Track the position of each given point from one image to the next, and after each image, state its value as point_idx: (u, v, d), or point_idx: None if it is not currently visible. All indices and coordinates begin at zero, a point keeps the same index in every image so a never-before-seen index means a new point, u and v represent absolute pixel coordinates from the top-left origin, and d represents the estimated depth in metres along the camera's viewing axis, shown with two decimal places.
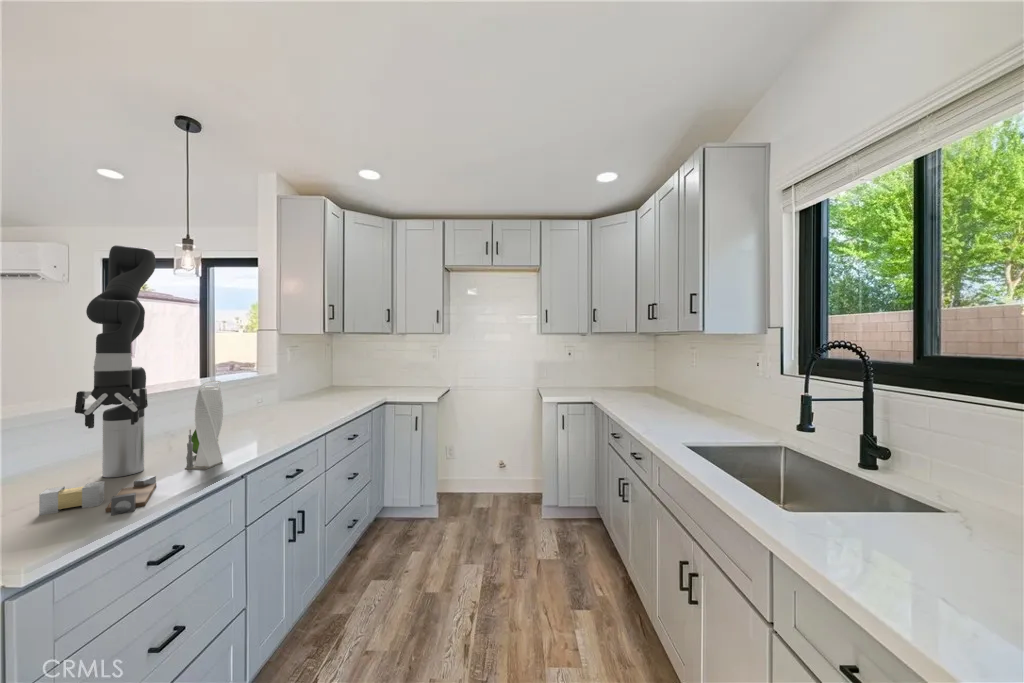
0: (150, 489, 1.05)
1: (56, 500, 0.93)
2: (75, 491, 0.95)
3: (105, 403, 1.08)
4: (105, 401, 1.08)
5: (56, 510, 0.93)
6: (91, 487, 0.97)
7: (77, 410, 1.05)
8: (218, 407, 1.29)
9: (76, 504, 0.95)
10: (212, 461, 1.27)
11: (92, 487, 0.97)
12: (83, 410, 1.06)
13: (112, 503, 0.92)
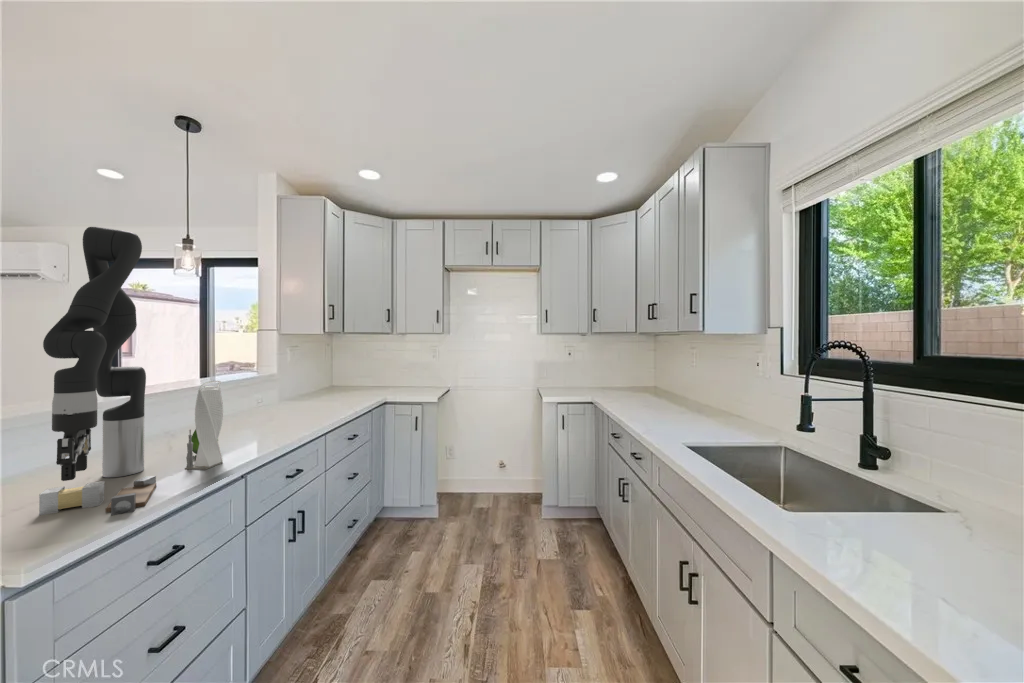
0: (150, 489, 1.05)
1: (56, 500, 0.93)
2: (75, 491, 0.95)
3: None
4: None
5: (56, 510, 0.93)
6: (91, 487, 0.97)
7: (73, 459, 0.91)
8: (218, 407, 1.29)
9: (76, 504, 0.95)
10: (212, 461, 1.27)
11: (92, 487, 0.97)
12: None
13: (112, 503, 0.92)
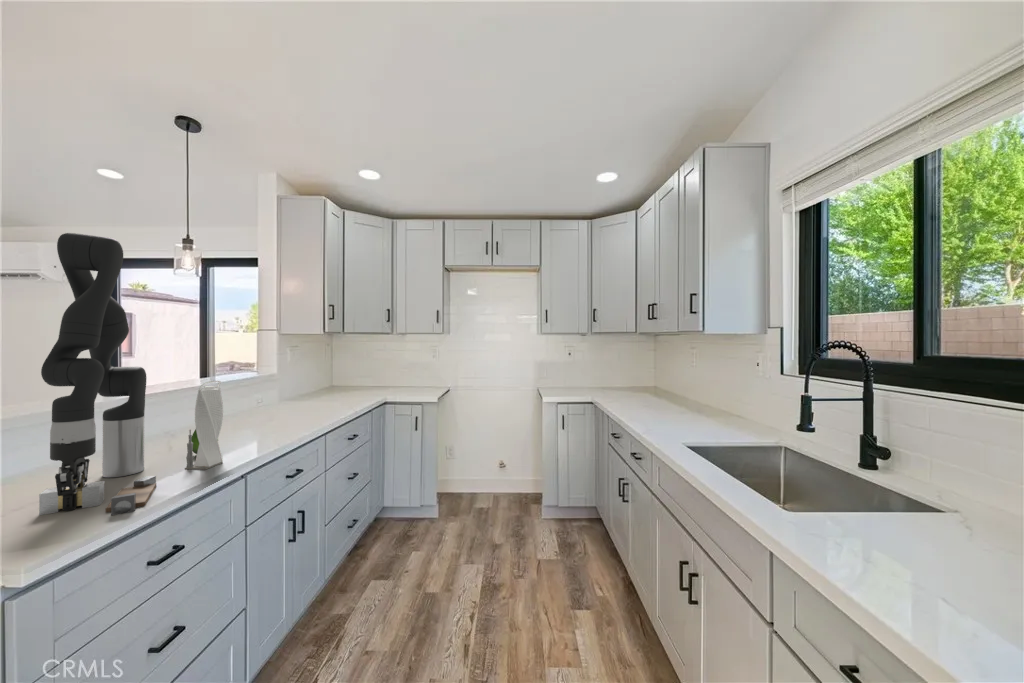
0: (150, 489, 1.05)
1: (56, 500, 0.93)
2: None
3: None
4: None
5: (56, 510, 0.93)
6: (91, 487, 0.97)
7: (74, 490, 0.93)
8: (218, 407, 1.29)
9: None
10: (212, 461, 1.27)
11: (92, 487, 0.97)
12: None
13: (112, 503, 0.92)
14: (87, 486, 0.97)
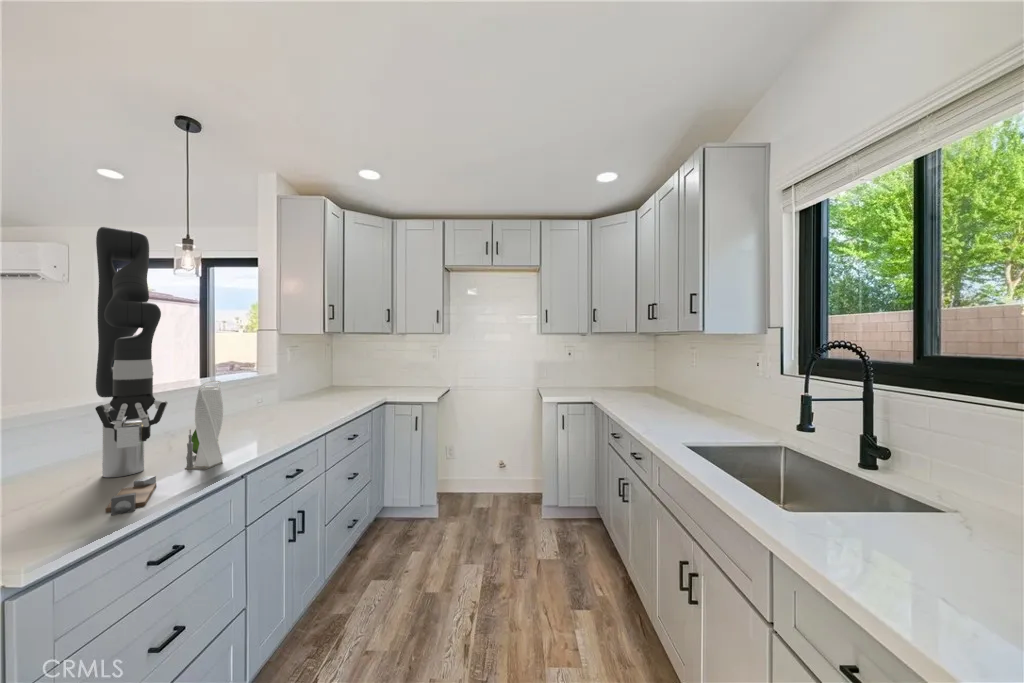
0: (150, 489, 1.05)
1: (141, 432, 1.01)
2: None
3: None
4: None
5: None
6: None
7: None
8: (218, 407, 1.29)
9: None
10: (212, 461, 1.27)
11: None
12: None
13: (112, 503, 0.92)
14: (141, 421, 1.04)
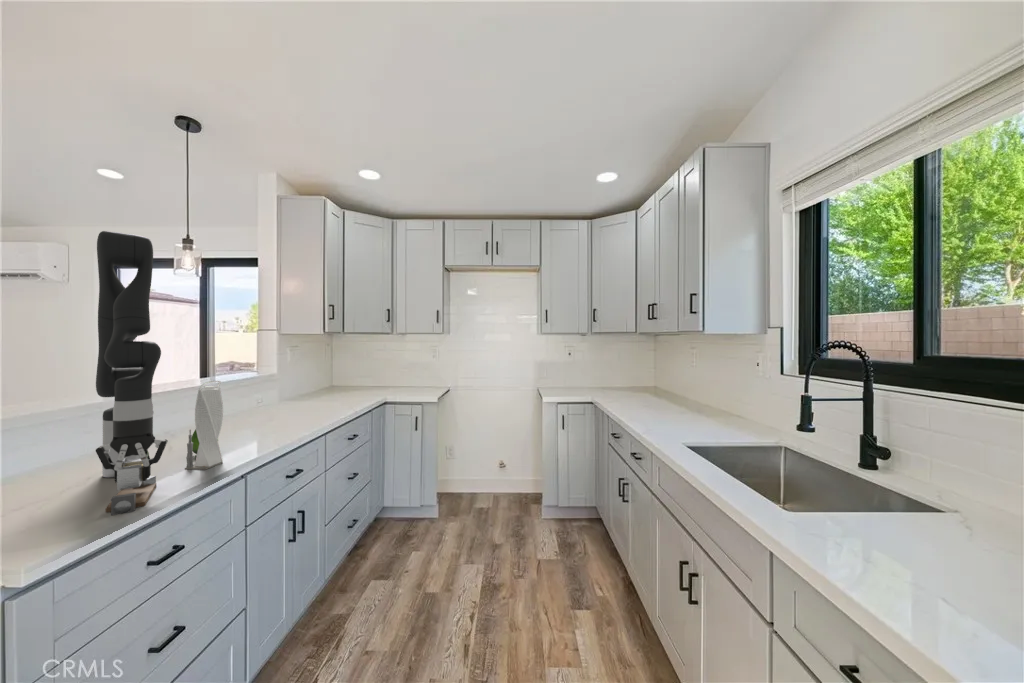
0: (150, 489, 1.05)
1: (141, 472, 1.01)
2: None
3: None
4: None
5: (141, 481, 1.01)
6: None
7: None
8: (218, 407, 1.29)
9: None
10: (212, 461, 1.27)
11: None
12: None
13: (112, 503, 0.92)
14: (141, 460, 1.04)
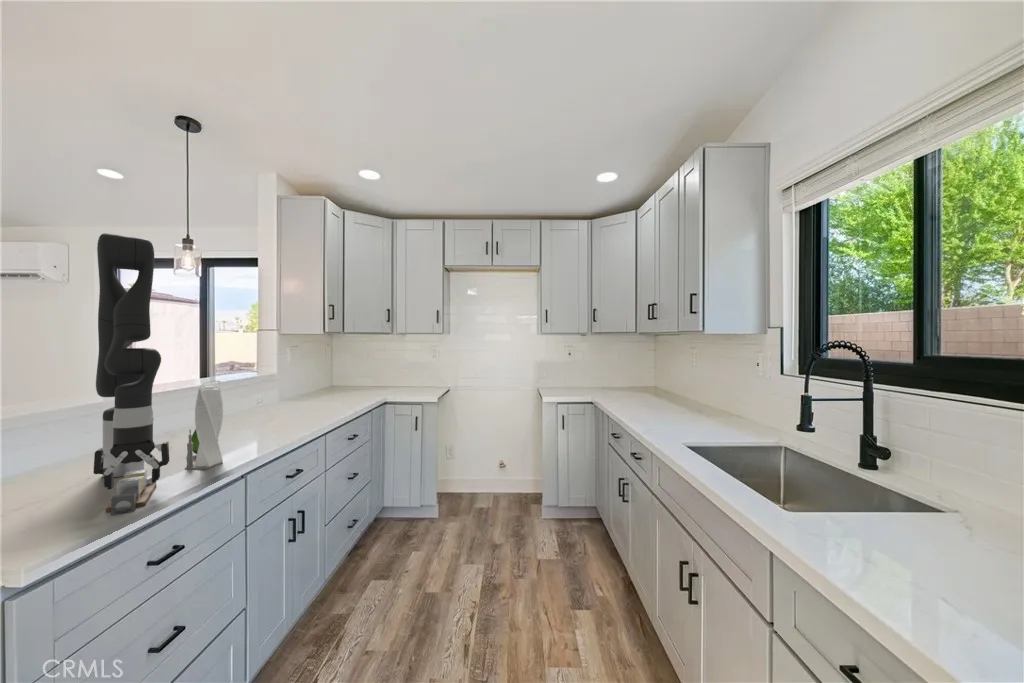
0: (150, 489, 1.05)
1: (140, 484, 1.01)
2: (140, 476, 1.03)
3: None
4: None
5: (140, 494, 1.01)
6: (145, 471, 1.05)
7: None
8: (218, 407, 1.29)
9: (143, 487, 1.03)
10: (212, 461, 1.27)
11: (145, 471, 1.06)
12: None
13: (112, 503, 0.92)
14: (141, 472, 1.04)
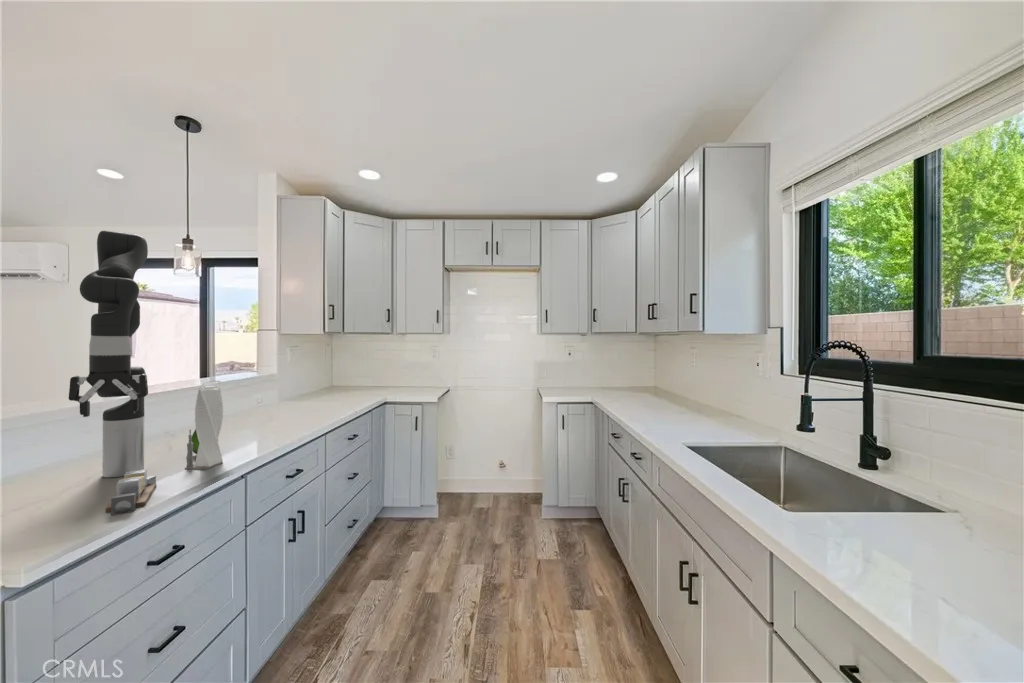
0: (150, 489, 1.05)
1: (140, 484, 1.01)
2: (140, 476, 1.03)
3: None
4: None
5: (140, 494, 1.01)
6: (145, 471, 1.05)
7: None
8: (218, 407, 1.29)
9: (143, 487, 1.03)
10: (212, 461, 1.27)
11: (145, 471, 1.06)
12: None
13: (112, 503, 0.92)
14: (141, 472, 1.04)
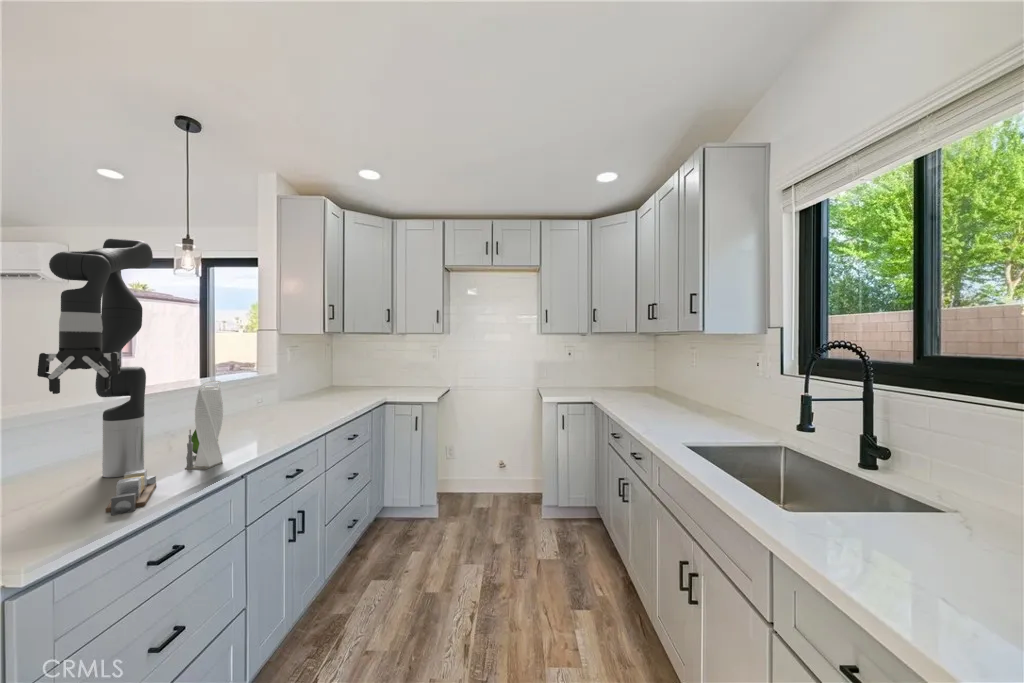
0: (150, 489, 1.05)
1: (140, 484, 1.01)
2: (140, 476, 1.03)
3: None
4: None
5: (140, 494, 1.01)
6: (145, 471, 1.05)
7: None
8: (218, 407, 1.29)
9: (143, 487, 1.03)
10: (212, 461, 1.27)
11: (145, 471, 1.06)
12: None
13: (112, 503, 0.92)
14: (141, 472, 1.04)
